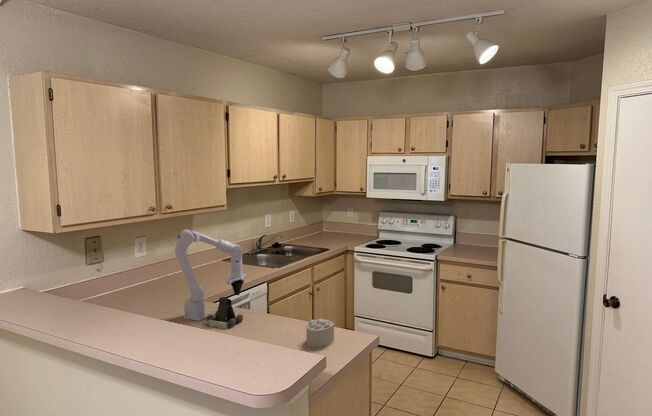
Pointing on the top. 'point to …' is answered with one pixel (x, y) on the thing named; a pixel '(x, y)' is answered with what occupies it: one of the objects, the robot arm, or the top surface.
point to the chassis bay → (227, 325)
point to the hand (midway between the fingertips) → (237, 294)
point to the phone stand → (224, 310)
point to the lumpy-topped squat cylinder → (319, 333)
